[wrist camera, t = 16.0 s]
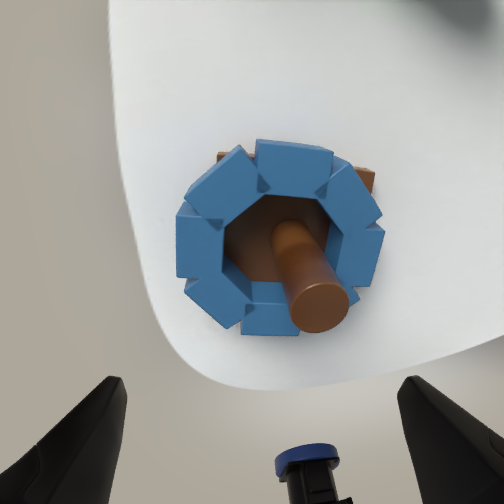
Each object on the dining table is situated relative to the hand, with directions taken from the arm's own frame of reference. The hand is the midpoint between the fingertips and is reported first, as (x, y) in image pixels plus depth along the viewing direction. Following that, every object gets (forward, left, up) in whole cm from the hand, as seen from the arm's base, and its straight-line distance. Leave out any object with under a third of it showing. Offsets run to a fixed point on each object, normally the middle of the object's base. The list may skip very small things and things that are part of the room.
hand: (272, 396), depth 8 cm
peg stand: (+1, -2, -12) cm, 12 cm away
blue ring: (+1, -1, -11) cm, 11 cm away
